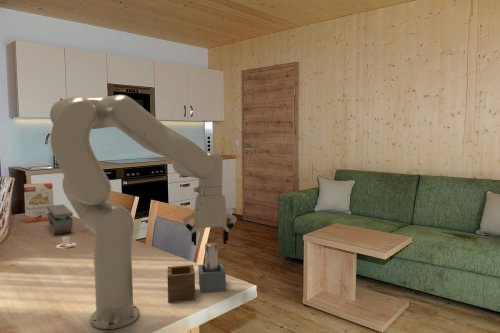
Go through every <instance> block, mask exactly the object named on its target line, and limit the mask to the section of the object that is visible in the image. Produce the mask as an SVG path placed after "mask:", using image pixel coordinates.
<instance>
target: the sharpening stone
mask: <svg viewBox="0 0 500 333" xmlns="http://www.w3.org/2000/svg"><path fill="white" fill-rule="evenodd" d="M47 209H48V211H49V212H50V213H48V220H47V221H48V224H49V226H48V227H49V229H50V232H51V233H52V234H53V235H58V234H64V233H71V232H72V228H73V224H74V223H73V218H72V217H73V216H74V214H73V212H72V210H70V208H68V207H67V206H66V205H65V204H55V205H54V204H53V206H47Z"/></svg>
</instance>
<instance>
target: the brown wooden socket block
mask: <svg viewBox="0 0 500 333" xmlns="http://www.w3.org/2000/svg"><path fill="white" fill-rule="evenodd" d="M195 274H196V273H195V267H194V264H190V265H188V264H187V265H176V266H167V303H174V302H175V303H179V302H186V301H187V302H189V301H196V275H195Z"/></svg>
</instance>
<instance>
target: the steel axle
mask: <svg viewBox="0 0 500 333" xmlns="http://www.w3.org/2000/svg"><path fill="white" fill-rule="evenodd" d="M218 255H219V254H218V244H217V242H216V243H215V242H208V243H205V244H204V258H205V259H204V265H205V272H218V264H219V263H218V262H219V261H218Z"/></svg>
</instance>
